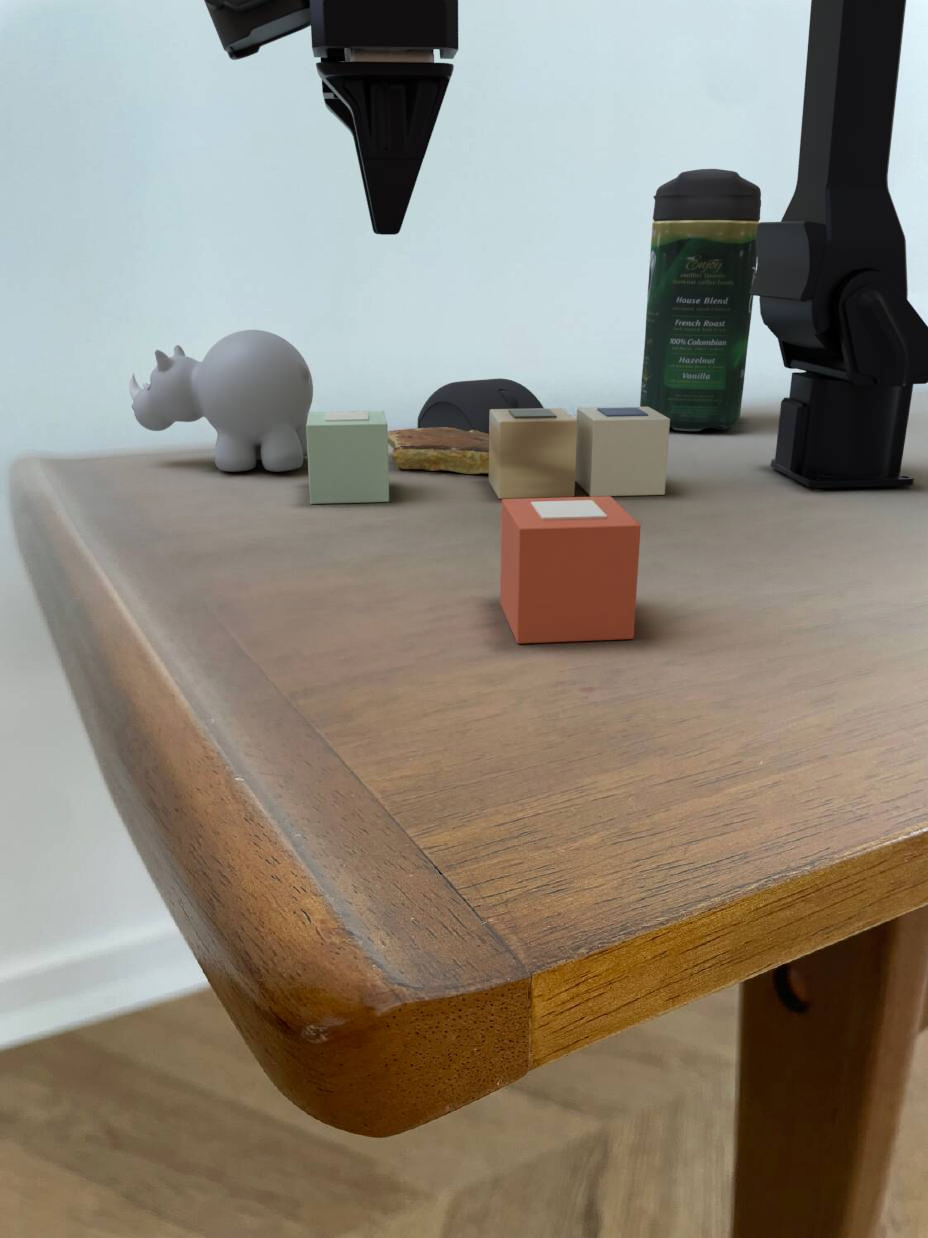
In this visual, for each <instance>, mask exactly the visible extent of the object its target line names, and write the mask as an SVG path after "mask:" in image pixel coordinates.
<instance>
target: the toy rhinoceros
mask: <svg viewBox="0 0 928 1238" xmlns="http://www.w3.org/2000/svg"><path fill="white" fill-rule="evenodd" d="M154 356H155V360H156V366H155V367H154V369H153V370H152V371H151V373H150V377H149V381H150V382H149V383H148V382H146V381H143V382H142V386H143V388H142V387H141V386H140V385H139V384H138V382H137V379H136V376H135V373H134V372H132V373H131V375H130V377H129V381H128V391H129V395H130V397H131V399H132V404H131V409H132V410H133V413H134V414H133V415H134V417H135V419H136V421H137V423H138V424H139V425H140V426H142V427H143V428H145V429H147V430H148V431H151V432H152V431H153V432H162V431H165V430H167V429H168V428H170V427H172V425H173V424H174V423H176V422H182V423H193V422H197V421H198V420H200V419H201V418H205V419H206V420H207V421H208V423H209V424H210V425H211V427H212V428H213V429H214V430H215V431H216V433H217V436H216V441H215V444H214V463H215V466H216V468H217V469H219V470H221V471H224V472H230V473H231V472H232V473H235V472H237V473H238V472H239V473H240V472H245V471H250V470H253V469H254V468H256V466H257V461H259V460H261V463H262V466H263V468H264V469H265V470H266V471H269V472H277V473H278V472H288V471H293V470H296V469H297V470H298V469H299V468H302V466H303V464H304V458H306V457H308V451H307V432H306V424H307V418H308V413H309V412H310V410H311V407H312V404H313V399H314V383H313V376H312V375H311V374H312V373H311V371H310V368H309V366H308V364H307V362H306V360H305V358H304V356H303V355H302V353H300V351H299V350H298V349H297V348H296V347H295V346H294V345H293V344H292V343H290V341H288V340H287V339H285V338H283V337H282V336H280V335H278V334H275V333H273V332H270V331H266V330H261V329H244V330H239V331H235V332H232V333H229V334H228V335H226V336H224V337H222V338H221V339H219V340H217V342H215V343H214V344H213V345H212V346H211V347H210V349H209V350H208V351H207V352H206V354H205V355H204V357H203V358H202V361H200V360H196V359H195V358H193V357H190V356H186V353H185V351H184V349H183V348H182V346H180V345H179V344H176V345H175V346H174V347H173V356H168V355H167V354H166V353H165V352H163V351H161V350H159V349H156V350H155V351H154Z"/></svg>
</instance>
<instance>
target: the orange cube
mask: <svg viewBox="0 0 928 1238" xmlns="http://www.w3.org/2000/svg"><path fill="white" fill-rule="evenodd" d="M500 512H501V513H500V515H501V516H500V517H501V519H500V523H501V524H500V525H501V526H500V530H501V531H500V577H499V578H500V579H499V580H500V581H499V585H500V586H499V587H500V588H499V600H500V601H499V604H500V607H501V609H502V612H503V613H504V616H505V618H506V620H507V623H508V625H509V628H510V629H511V632H512V634H513V636H514V639H515V641H516V643H517V644H541V643H566V642H567V643H568V642H590V641H614V640H615V641H616V640H617V641H618V640H633V639H634V638H635V623H636V607H637V594H638V593H637V592H638V575H639V560H640V544H641V543H640V542H641V529H642V527H641V524H640V523H639V522H638V521H637V520H636V519H635V518H634V517H633V516H632V515H631V514H630V513H629V512H628V511H627V510H626V509H624V507H622V506H621V505H620V504H619V503H618V502H617V501H616V500H615V499H614V498H613V496H599V497H591V496H574V497H559V498H517V499H501V511H500Z"/></svg>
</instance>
